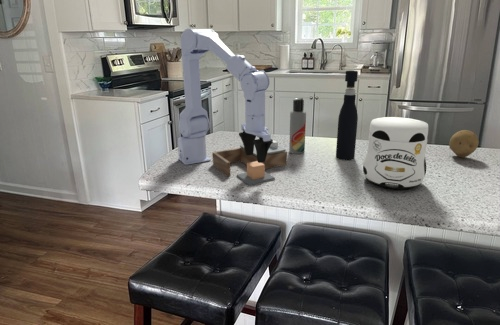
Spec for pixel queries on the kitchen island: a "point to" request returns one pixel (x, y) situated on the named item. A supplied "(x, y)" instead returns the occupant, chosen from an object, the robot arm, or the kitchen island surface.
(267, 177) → the mat
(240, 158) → the wooden box
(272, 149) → the slide cover
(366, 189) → the kitchen island surface
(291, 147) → the lotion bottle
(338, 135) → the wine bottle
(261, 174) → the block
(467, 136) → the potato
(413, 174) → the doce de leite jar
